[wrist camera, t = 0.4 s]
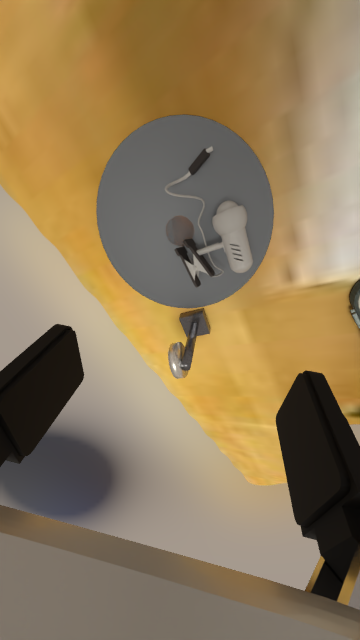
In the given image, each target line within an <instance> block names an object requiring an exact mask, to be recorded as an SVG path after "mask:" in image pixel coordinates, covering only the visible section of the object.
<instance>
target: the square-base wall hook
mask: <svg viewBox="0 0 360 640" xmlns="http://www.w3.org/2000/svg"><path fill="white" fill-rule="evenodd" d="M179 319H180V322H181V324H182V327H183V329H184V331H185V334H186V336H187V342H186V346H185V347H184V345H183V344H182V343H181V342H177V343H172V344H171V345H170V347H169V352H168V358H169V365H170V369H171V372H172V374H173V376H174V377H175V378H177V379H178V378H185V377H186V376H187V374H188V370H190V367H191V362H192V357H193V352H194V347H195V341H196V336H199V335H204V334H210V326H209V323H208V320H207V317H206V314H205V311H204V308H203V309H198V310H194V311H189V312H185V313H181V314H180V317H179Z"/></svg>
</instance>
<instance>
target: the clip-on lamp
mask: <svg viewBox="0 0 360 640" xmlns="http://www.w3.org/2000/svg"><path fill="white" fill-rule="evenodd" d="M211 151H213V147H212V146H211V147H209V148H205V149H203V150H202V152H201V153H200V154H199V156H198V157H197V158H196V159H195V161H194V162H193V163H192V164H191V166H190V167H189V168H188V170H189V172H188V173H187V174H186V175H185V176H183V177H181V178H180V179H178V180H176V181H173V182H171V183H169V184H168V185H167V186H166V187H165V191H166V192H167V193H168V194H170V195H173V196H178V197H186V198H195V199H199V200H201V201H202V202H203V209H202V211H201V213H200V216H199V219H198V226H199V228H200V230H201V232H202V235H203V239H204V243H205V246H206V247H205V248H202V249H199V250H198V248H197V247H196V246H195V245H196V243H195V242H194V240H193V239H185V240H184V241H183V243H184V244H185V246H186V247H187V248H189V249H190V250H191V252H192V253H193V260H194V261H193V260H192V259H190V258H189V257H188V255H187V253H188V252H187V250H186V248H185V247H184V246H183V247H179V248H176V249H174V250H175V252H176V254H177V256H180V258H181V260H182V262H183V264H184V266H185V268H186V270H187V272H188V274H189V276H190V278H191V280H192V282H193V284H194V286H195V287H196V288H197V287H199V286H200V285H201V282H200V280H199V271H201V272H204V273H207V274H208V275H209V276H210V277H217V276H220V275H222V274H223V273H224V271H223V270H222V269H220V268H218V267H216V266H215V265H214V263H213V261H212V259H211V257H210V254H209V252H211V251H214V250H217V249H220V248H223V249H224V252H226V255H227V258H228V262H229V265H230V268H231V270H233V271H234V272H237V273H243V272H246V271H247V270H249V269H250V267H251V266H252V263H253V259H252V254H251V250H250V246H249V242H248V238H247V234H246V229H245V226H246V223H247V212H246V209H245V208H244V206H243V205H241V206H238V205H237V204H236V203H235V202H233V201H225V202H223V203H222V204H220V206H219V207H218V209H217V213H216V215H215V216H214V217H213V218H212V223H213V227H214V229H215V231H216V232H217V233H218V234H219V235H220V236H221V238H222V242H221V243H219V242H218V243H215V244H213V245H210V246H207V245H206V241H205V237H204V233H203V231H202V229H201V227H200V224H199V222H200V218H201V216H202V213H203V211H204V207H205V201H204V200H203V199H202V198H199V197H196V196H190V195H180V194H174V193H171V192H169V191H168V190H167V189H168V188H169V187H170V186H172V185H174V184H177V183H179V182H182V181H183V180H185V179H187V178H188V177H189V176H190V175H194V174H195V173H196V172H197V171H198V169H199V168H200V167H201V166H202V165H203V163H204V162H205V161H206V160H207V159H208V158H209V156H210V153H209V152H211ZM205 253H208V255H209V258H210V260H211V263H212V264H213V266H214V267H215V268H217V269H219V270H221V271H222V272H221V273H220V274H217V275H215V272H214V270H213V269H212V267H211V266H210V265H209V263H208V262H207V261H206V259H205V258H204V257H203V255H202V254H205Z"/></svg>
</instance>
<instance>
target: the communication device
mask: <svg viewBox="0 0 360 640" xmlns="http://www.w3.org/2000/svg"><path fill="white" fill-rule="evenodd" d="M350 303H351V305H352V307H353V309H352V310H350V312H351V313H353V312H355V313H353V314H352V316H353V318H354V320H355V322H356V324H357V325H358V328H360V280H359V281H358V282H357V283H356V284H355V286H354V287H353V289H352V291H351V293H350Z"/></svg>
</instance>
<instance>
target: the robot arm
mask: <svg viewBox="0 0 360 640" xmlns="http://www.w3.org/2000/svg"><path fill="white" fill-rule="evenodd" d="M83 378H84V372H83V367H82V362H81V358H80V353H79V347H78V343H77V338H76V333H75V331H73V330H72V328H71V327H70V326H65V325H60V324H56V325H54V326H53V327H52V328H51V329H49V330H48V331H47V332H46V333H45V334H44V335H42V336H41V337H40V338H39V339H38V340H36V341H35V342H34V343H33V344H32V345H31V346H30V347H28V348H27V349H26V350H25V351H24V352H22V353H21V354H20V355H19V356H18V357H17V358H15V359H14V360H13V361H12V362H11V363H10V364H8V365H7V366H6V367H5V368H4V369H3V370H2V371H0V467H1V465H2V464H3V463H4V461H5V460H7V461H11V462H15V463H19V464H20V463H21V461H22V460H23V458H24V457H25V456H28V455H29V454H30V453H31V452H32V451H33V450H34V448H35V447H36V446H37V444H38V443H39V441H40V440H41V439H42V437H43V436H44V434H45V433H46V432H47V430H48V429H49V427H50V426H51V424H52V423H53V422H54V420H55V419H56V417H57V416H58V415H59V413H60V412H61V410H62V409H63V407H64V406H65V405H66V403H67V402H68V401H69V399H70V398H71V396H72V395H73V394H74V392H75V391H76V389H77V388H78V387H79V385H80V384H81V382H82V380H83ZM276 426H277V431H278V436H279V441H280V446H281V451H282V456H283V461H284V467H285V472H286V477H287V482H288V487H289V492H290V497H291V502H292V507H293V513H294V517H295V520H296V522H297V524H298V525H301V530H302V535H303V537H307V538H311V539H315V540H317V542H318V546H319V550H320V554H321V557H320V559H319V561H318V563H317V565H316V567H315V570H314V572H313V574H312V576H311V578H310V580H309V583H308V585H307V587H306V589H305V591H303V590H300V589H296V588H293V587H290V586H286V585H283V584H280V583H277V582H273V581H270V580H267V579H263V578H260V577H256V576H253V575H249V574H246V573H242V572H239V571H235V570H232V569H228V568H225V567H221V566H218V565H214V564H211V563H207V562H203V561H200V560H197V559H193V558H190V557H186V556H183V555H179V554H175V553H172V552H168V551H165V550H161V549H158V548H154V547H150V546H147V545H143V544H140V543H136V542H133V541H129V540H125V539H122V538H118V537H115V536H111V535H107V534H104V533H100V532H97V531H93V530H89V529H86V528H82V527H78V526H75V525H71V524H67V523H64V522H60V521H57V520H53V519H49V518H46V517H42V516H39V515H35V514H31V513H27V512H24V511H20V510H17V509H13V508H9V507H6V506H2V505H0V640H360V446H359V444H358V442H357V440H356V438H355V436H354V434H353V431H352V429H351V427H350V425H349V423H348V421H347V419H346V418H345V416H344V415H343V414H342V412H341V409H340V407H339V405H338V403H337V401H336V399H335V397H334V395H333V393H332V391H331V389H330V387H329V385H328V383H327V380H326V378H325V376H324V375H323V374H322V373H317V372H312V371H304V372H303V374H302V373H299V374H298V376H297V377H296V379H295V381H294V383H293V385H292V387H291V389H290V391H289V392H288V394H287V396H286V398H285V400H284V402H283V404H282V405H281V407H280V409H279V411H278V413H277V415H276Z"/></svg>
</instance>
